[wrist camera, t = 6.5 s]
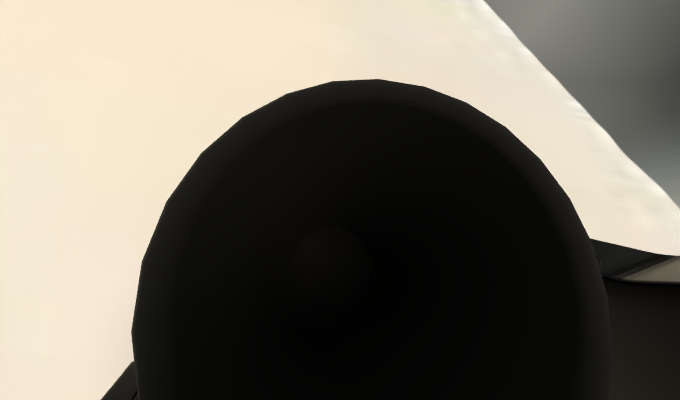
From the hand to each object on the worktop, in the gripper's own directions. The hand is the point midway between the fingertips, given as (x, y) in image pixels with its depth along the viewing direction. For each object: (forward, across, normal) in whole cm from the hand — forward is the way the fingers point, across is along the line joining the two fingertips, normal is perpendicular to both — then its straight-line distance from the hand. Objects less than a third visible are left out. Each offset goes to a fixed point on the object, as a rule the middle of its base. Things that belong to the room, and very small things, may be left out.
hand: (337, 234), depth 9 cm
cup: (+4, 0, +6) cm, 7 cm away
